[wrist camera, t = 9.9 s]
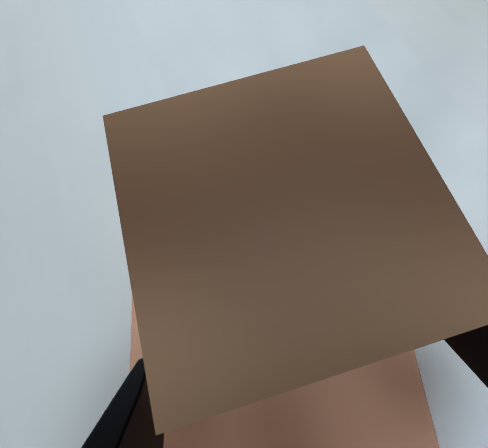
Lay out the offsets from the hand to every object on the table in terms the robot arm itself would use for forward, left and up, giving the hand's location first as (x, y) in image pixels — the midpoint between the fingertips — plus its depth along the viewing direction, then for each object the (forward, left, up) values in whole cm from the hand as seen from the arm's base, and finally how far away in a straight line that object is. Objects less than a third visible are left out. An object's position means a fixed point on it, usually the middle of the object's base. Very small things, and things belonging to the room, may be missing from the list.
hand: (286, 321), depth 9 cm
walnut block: (+2, 0, -7) cm, 8 cm away
